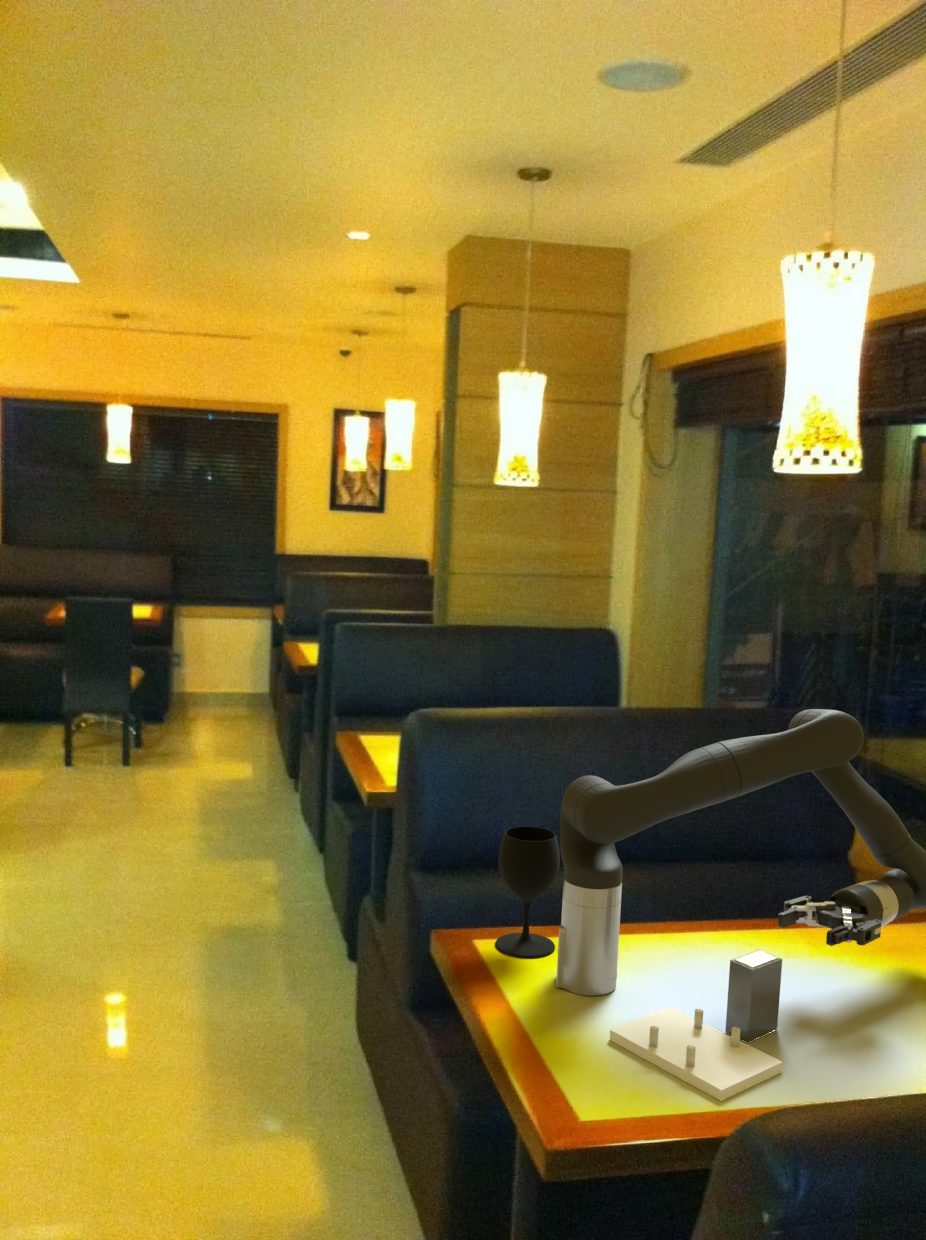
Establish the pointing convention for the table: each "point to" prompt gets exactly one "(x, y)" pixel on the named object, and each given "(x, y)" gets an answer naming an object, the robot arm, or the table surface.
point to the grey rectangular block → (754, 994)
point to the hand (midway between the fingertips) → (804, 930)
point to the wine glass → (528, 883)
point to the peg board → (697, 1052)
